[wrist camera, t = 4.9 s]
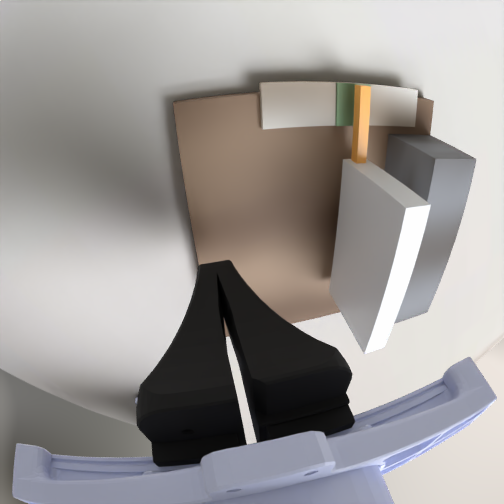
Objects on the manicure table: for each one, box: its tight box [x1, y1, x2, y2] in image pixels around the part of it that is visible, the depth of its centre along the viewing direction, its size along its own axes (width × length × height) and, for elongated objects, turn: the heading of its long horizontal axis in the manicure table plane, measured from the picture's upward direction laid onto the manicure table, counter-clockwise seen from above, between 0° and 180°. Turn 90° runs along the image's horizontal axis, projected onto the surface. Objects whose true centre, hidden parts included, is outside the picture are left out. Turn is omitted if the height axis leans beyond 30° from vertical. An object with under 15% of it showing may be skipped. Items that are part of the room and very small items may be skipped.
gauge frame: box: [173, 81, 476, 337], centre depth 15 cm, size 14×13×4 cm
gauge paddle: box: [329, 84, 431, 354], centre depth 13 cm, size 12×1×5 cm, turn 3°
